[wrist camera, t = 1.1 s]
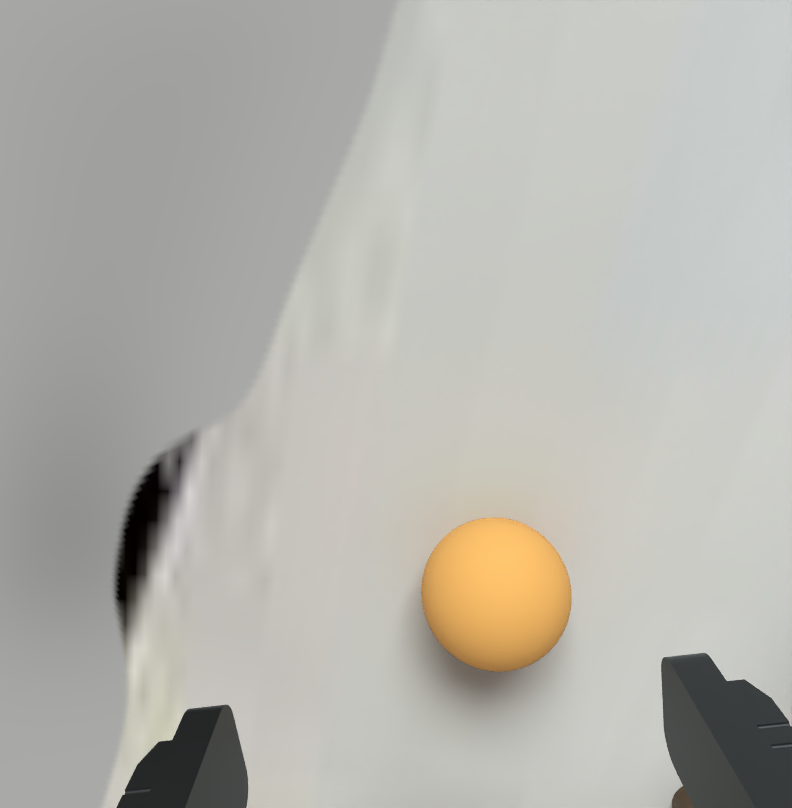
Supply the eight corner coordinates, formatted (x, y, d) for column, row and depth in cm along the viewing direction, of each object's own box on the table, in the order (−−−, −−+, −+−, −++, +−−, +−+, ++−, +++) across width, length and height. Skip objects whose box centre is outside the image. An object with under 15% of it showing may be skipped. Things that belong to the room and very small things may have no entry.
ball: (538, 478, 30) (565, 545, 24) (569, 596, 31) (602, 686, 25) (405, 513, 30) (401, 586, 25) (442, 627, 32) (446, 720, 26)
